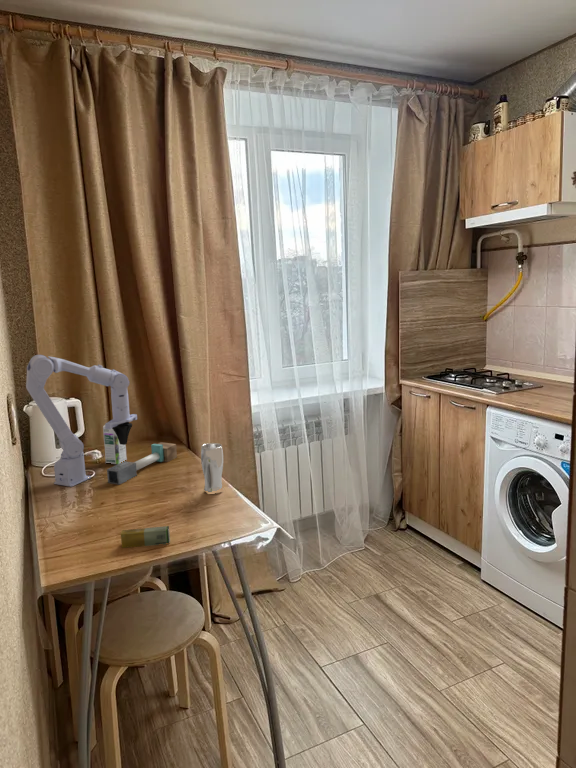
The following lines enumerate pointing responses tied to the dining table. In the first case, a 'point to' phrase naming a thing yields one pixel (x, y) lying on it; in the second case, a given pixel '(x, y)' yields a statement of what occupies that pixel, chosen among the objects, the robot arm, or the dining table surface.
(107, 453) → the syrup box
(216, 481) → the beer glass
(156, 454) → the slip tube
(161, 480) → the dining table surface
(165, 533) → the medication box
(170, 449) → the socket block
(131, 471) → the sleeve
